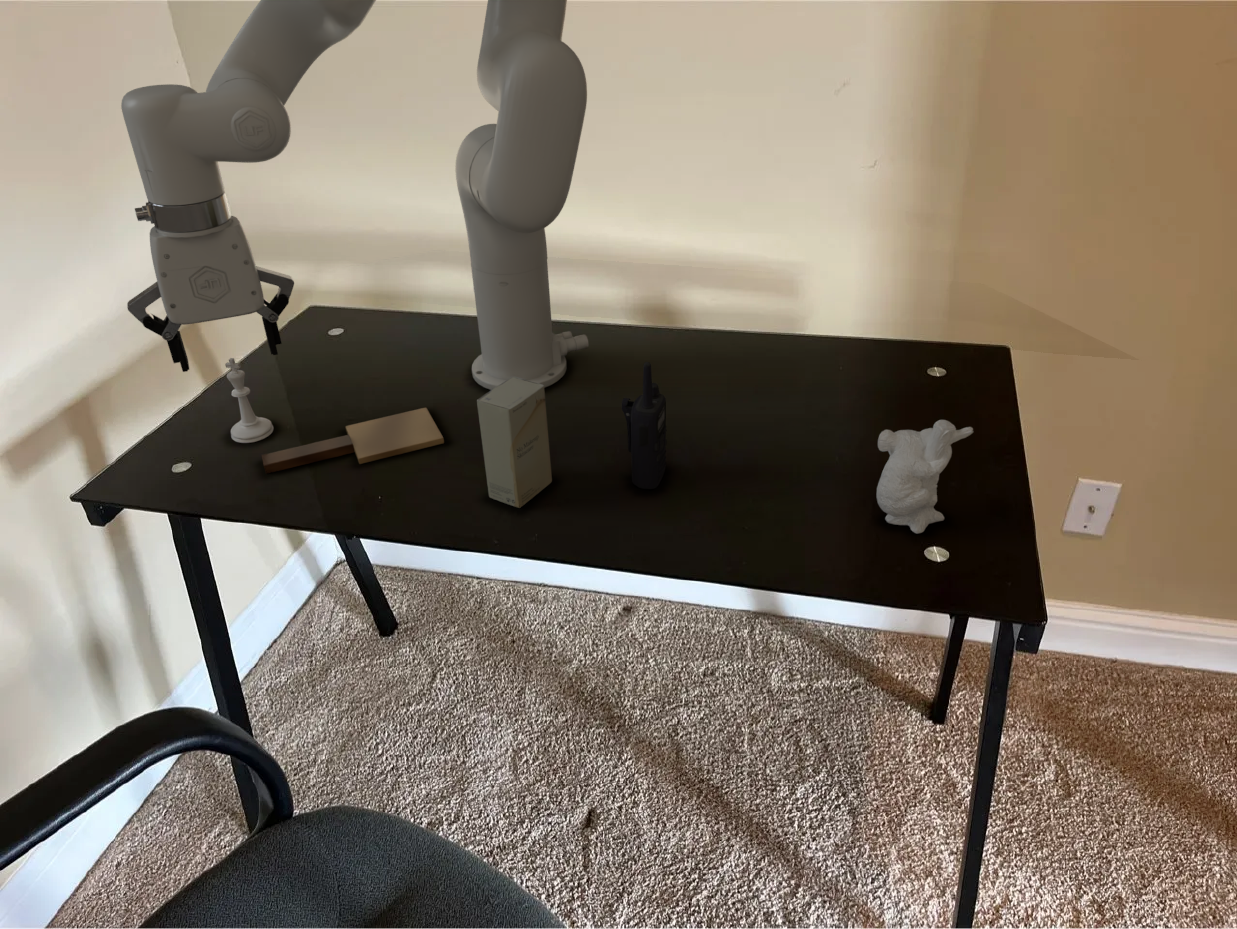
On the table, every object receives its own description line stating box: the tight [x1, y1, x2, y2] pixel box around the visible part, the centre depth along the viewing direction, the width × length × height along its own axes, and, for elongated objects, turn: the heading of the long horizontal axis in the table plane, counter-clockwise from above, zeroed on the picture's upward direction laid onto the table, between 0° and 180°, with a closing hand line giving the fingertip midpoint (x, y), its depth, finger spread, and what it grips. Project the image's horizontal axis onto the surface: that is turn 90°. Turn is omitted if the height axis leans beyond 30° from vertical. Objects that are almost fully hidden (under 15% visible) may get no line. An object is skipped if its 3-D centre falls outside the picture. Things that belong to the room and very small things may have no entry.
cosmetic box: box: [476, 377, 553, 509], centre depth 97 cm, size 6×4×12 cm
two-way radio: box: [621, 361, 668, 490], centre depth 98 cm, size 6×4×15 cm
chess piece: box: [224, 357, 274, 444], centre depth 109 cm, size 5×5×10 cm
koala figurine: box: [875, 419, 975, 535], centre depth 91 cm, size 8×7×12 cm
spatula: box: [261, 407, 445, 475], centre depth 108 cm, size 20×8×1 cm, turn 114°
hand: (230, 358), depth 106 cm, fingers open, 9 cm apart
